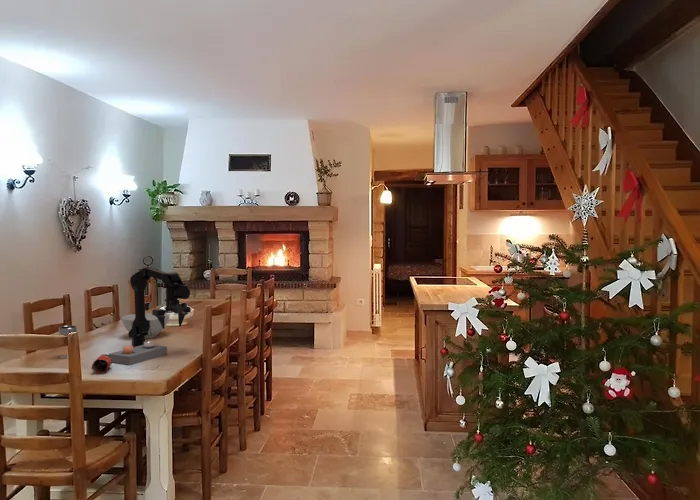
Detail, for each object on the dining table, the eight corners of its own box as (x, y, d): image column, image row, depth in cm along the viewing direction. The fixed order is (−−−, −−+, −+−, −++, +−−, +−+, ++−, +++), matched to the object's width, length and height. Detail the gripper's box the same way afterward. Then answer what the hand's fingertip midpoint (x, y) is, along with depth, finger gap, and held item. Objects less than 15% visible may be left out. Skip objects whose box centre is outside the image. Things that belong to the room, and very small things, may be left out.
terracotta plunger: (121, 355, 259) (121, 347, 259) (128, 353, 263) (128, 345, 263) (127, 356, 257) (127, 348, 257) (135, 354, 261) (134, 346, 261)
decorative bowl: (138, 343, 300) (137, 321, 299) (112, 337, 316) (112, 316, 316) (179, 335, 321) (178, 315, 321) (153, 330, 338) (153, 311, 337)
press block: (108, 361, 258) (108, 353, 258) (146, 351, 280) (146, 343, 280) (129, 365, 252) (129, 356, 252) (167, 354, 274) (166, 346, 274)
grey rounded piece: (142, 349, 271) (141, 341, 271) (148, 348, 275) (148, 340, 275) (148, 350, 269) (148, 342, 269) (155, 348, 273) (154, 341, 273)
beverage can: (113, 366, 250) (113, 352, 249) (108, 373, 238) (108, 358, 238) (96, 367, 248) (96, 353, 248) (91, 374, 236) (90, 359, 236)
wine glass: (80, 356, 270) (80, 326, 269) (65, 359, 263) (64, 329, 262) (71, 354, 274) (70, 325, 273) (56, 357, 267) (55, 327, 266)
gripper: (162, 300, 263) (162, 332, 263) (196, 297, 276) (196, 327, 277) (151, 298, 270) (151, 329, 271) (185, 295, 284) (185, 324, 285)
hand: (171, 327), depth 276 cm, fingers open, 9 cm apart
